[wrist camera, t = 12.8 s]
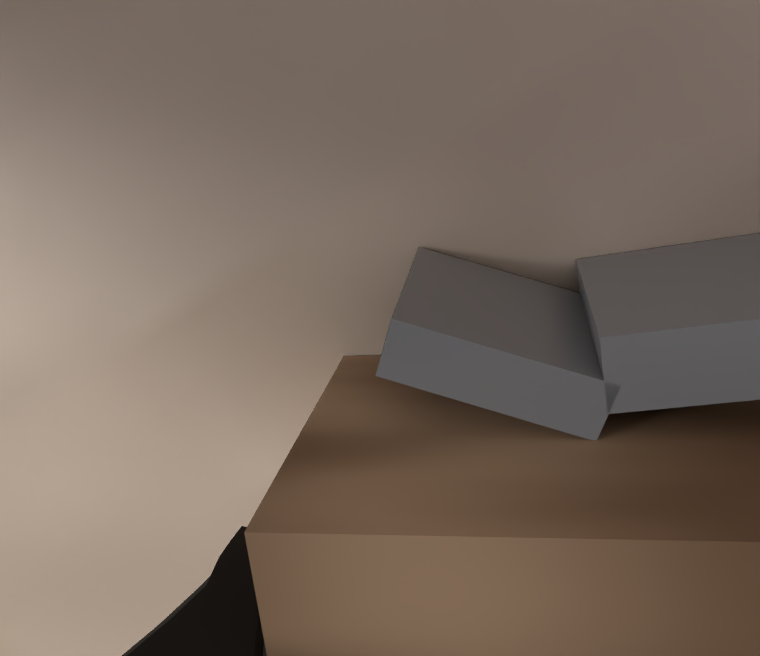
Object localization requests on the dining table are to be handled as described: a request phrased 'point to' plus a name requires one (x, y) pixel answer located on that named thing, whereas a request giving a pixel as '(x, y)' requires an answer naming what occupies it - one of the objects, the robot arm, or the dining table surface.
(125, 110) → the dining table surface
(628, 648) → the slat
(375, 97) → the dining table surface
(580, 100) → the dining table surface
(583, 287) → the gray angular bracket
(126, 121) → the dining table surface
